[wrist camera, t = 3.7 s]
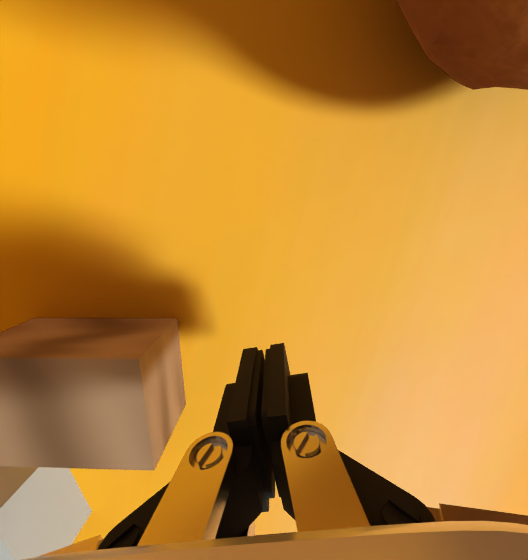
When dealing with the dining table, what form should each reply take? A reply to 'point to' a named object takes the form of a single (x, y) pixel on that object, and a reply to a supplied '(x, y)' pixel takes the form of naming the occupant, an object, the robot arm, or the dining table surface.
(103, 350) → the walnut block
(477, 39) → the butternut squash
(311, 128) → the dining table surface
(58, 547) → the slate block
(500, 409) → the dining table surface
